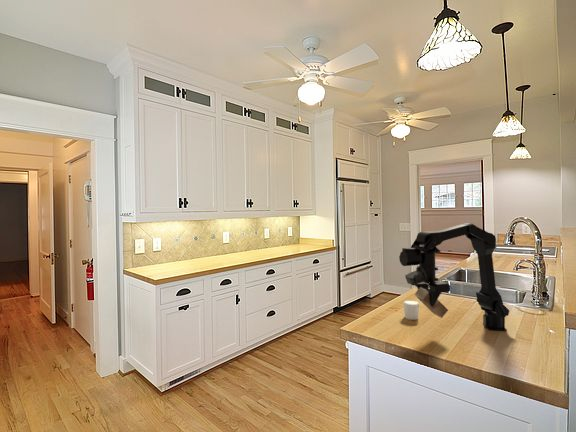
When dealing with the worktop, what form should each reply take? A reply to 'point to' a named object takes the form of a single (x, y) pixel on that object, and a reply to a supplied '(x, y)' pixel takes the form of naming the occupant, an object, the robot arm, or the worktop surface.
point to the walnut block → (425, 299)
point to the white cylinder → (411, 309)
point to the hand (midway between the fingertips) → (427, 303)
